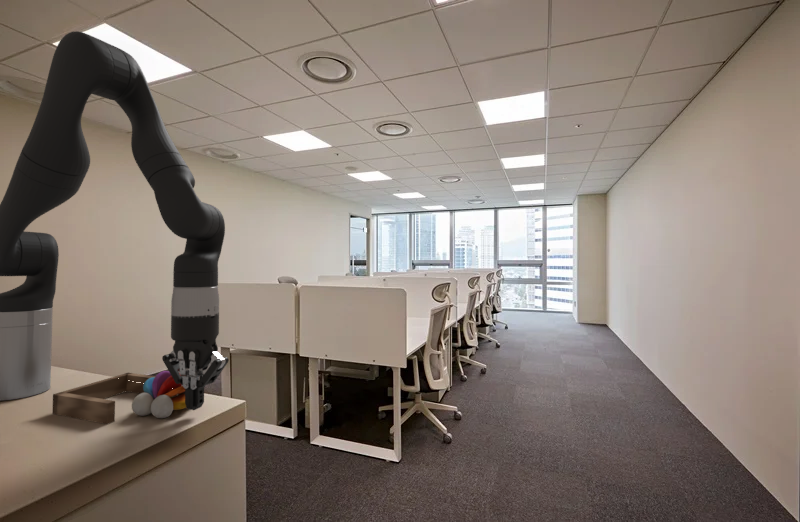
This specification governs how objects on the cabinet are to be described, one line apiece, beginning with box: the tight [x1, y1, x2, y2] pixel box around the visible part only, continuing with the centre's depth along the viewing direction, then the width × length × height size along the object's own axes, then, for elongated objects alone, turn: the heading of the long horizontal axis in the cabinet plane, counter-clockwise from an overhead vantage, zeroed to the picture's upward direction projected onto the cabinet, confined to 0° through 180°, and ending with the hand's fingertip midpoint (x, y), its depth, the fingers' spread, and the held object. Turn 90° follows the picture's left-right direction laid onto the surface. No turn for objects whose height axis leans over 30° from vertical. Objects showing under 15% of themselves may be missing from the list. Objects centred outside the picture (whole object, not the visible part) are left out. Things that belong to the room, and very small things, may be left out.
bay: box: [51, 372, 156, 425], centre depth 69 cm, size 13×14×4 cm
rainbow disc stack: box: [131, 370, 187, 419], centre depth 67 cm, size 8×10×7 cm
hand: (194, 408), depth 65 cm, fingers closed
